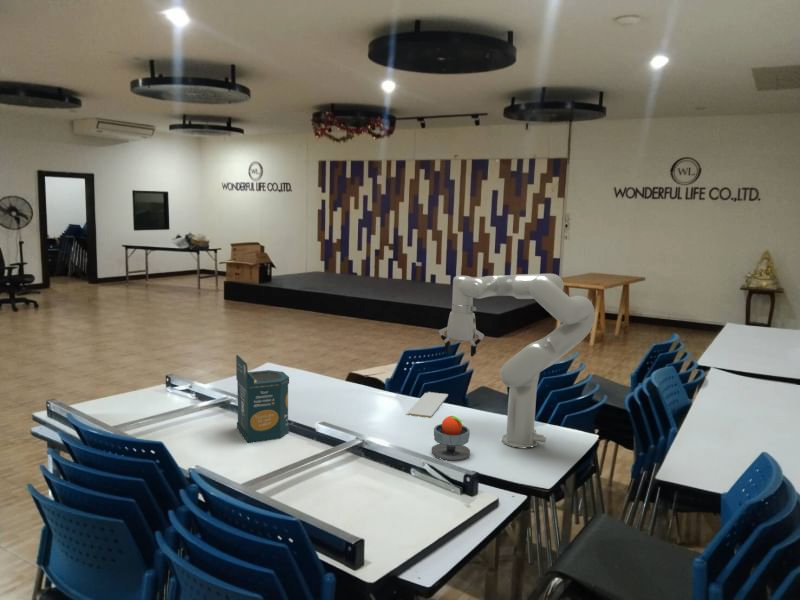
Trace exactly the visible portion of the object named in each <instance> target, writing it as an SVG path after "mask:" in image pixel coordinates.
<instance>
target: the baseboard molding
mask: <svg viewBox="0 0 800 600" xmlns="http://www.w3.org/2000/svg"><path fill="white" fill-rule="evenodd" d="M439 392H440V391H439V390H438V389H433V392H432V391H431V390H429V389H428V391H427V392H426V390H424V391H423V395H422V396H421V397H420V398H419V399H418V400H416V402H415V403H414V405H413V406H412V407H411V408H410V409H409V410H408V411H407V412H406V413H405V416H410V415H411V417H418V416H419V418H426V417H428V418H427V419H431V418H432V417H433V416H434V415H433V414H435V413H436V412H437V411H438V409H440V407H441V406H442V404H443V403H444V402H445V401H446V399H447V398H448V396H449V394H448V392H445V393H442V392H441V393H439ZM441 403H442V404H441ZM440 405H441V406H440Z"/></svg>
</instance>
